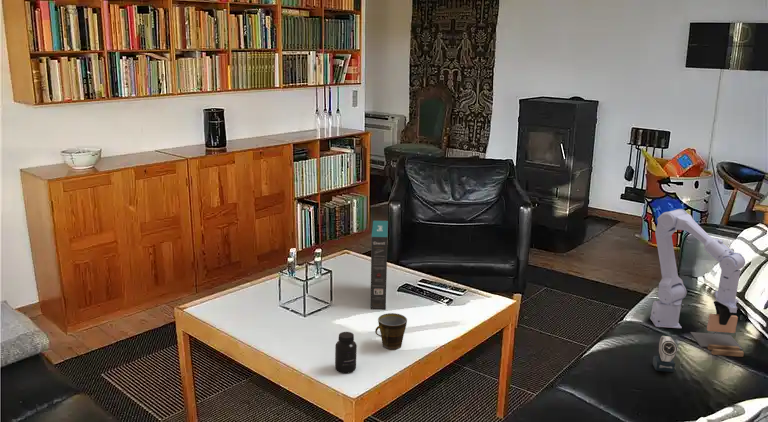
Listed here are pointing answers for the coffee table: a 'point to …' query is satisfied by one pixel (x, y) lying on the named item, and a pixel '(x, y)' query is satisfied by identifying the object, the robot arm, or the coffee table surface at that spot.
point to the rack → (725, 350)
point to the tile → (715, 326)
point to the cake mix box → (379, 265)
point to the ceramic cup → (392, 330)
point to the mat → (714, 339)
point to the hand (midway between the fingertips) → (721, 323)
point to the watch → (665, 355)
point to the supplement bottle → (345, 353)
